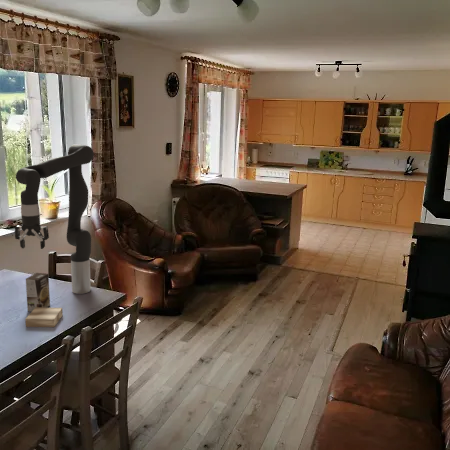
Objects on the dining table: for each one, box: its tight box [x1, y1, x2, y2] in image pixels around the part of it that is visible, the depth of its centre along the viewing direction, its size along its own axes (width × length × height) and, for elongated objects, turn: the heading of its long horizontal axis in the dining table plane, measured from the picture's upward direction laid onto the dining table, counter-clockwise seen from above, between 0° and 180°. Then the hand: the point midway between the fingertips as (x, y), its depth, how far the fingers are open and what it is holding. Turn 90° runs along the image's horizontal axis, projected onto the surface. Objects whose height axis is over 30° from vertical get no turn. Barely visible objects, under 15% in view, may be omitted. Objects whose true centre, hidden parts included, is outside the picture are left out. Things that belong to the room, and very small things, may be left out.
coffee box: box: [25, 272, 51, 312], centre depth 210 cm, size 9×6×16 cm
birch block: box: [25, 307, 64, 328], centre depth 199 cm, size 12×12×4 cm
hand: (32, 248), depth 204 cm, fingers open, 8 cm apart
